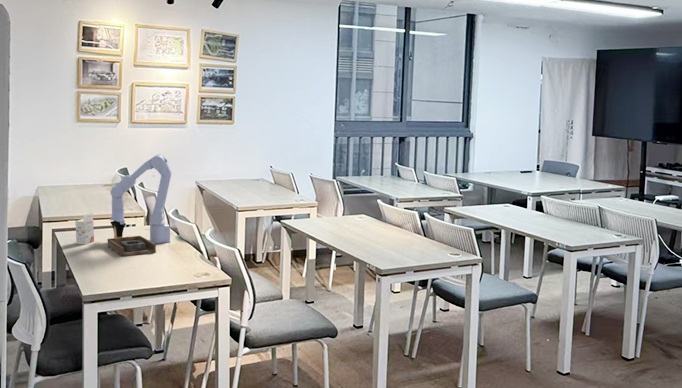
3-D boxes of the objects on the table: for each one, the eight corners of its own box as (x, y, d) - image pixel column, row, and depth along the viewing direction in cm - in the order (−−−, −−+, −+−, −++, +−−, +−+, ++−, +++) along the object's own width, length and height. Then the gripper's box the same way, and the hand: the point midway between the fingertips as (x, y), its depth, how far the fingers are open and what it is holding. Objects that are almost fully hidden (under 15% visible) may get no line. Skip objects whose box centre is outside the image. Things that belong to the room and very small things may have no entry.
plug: (120, 240, 349) (120, 225, 348) (123, 242, 346) (122, 226, 345) (113, 241, 347) (113, 225, 346) (115, 242, 344) (115, 227, 343)
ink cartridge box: (85, 240, 347) (84, 212, 344) (94, 241, 346) (93, 212, 343) (75, 244, 338) (74, 214, 336) (84, 245, 337) (84, 215, 335)
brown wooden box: (140, 243, 344) (139, 235, 343) (155, 252, 326) (155, 244, 326) (107, 246, 335) (107, 238, 334) (122, 256, 317) (121, 248, 316)
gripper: (105, 207, 348) (105, 234, 350) (114, 212, 336) (114, 239, 338) (119, 206, 352) (119, 232, 354) (128, 211, 340) (129, 238, 342)
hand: (118, 236), depth 346 cm, fingers closed on plug, 3 cm apart
